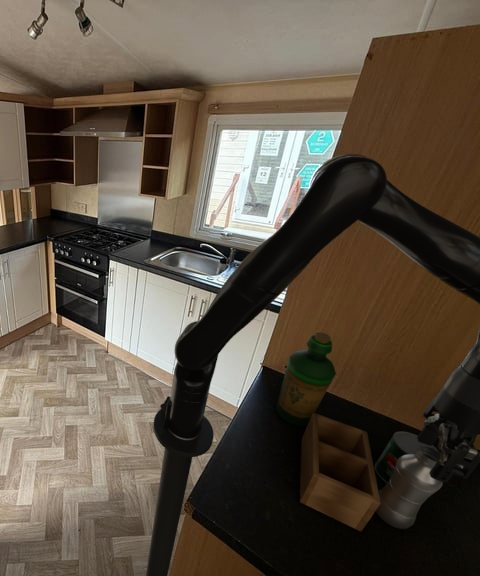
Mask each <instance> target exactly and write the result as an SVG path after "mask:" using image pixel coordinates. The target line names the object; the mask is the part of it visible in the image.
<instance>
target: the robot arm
mask: <svg viewBox="0 0 480 576" xmlns="http://www.w3.org/2000/svg"><path fill="white" fill-rule="evenodd" d="M308 185H309V186H308V189H307V191H306V192H305V194H304V195H303V198H302V199H301V200H300V202H299V203H298V204H297V206H296V207H295V208H294V209H293V211H292V212H291V214H290V215H289V216H288V218H287V219H286V220H285V221H284V223H282V225H281V226H280V227H279V228H278V229H277V230H276V231H275V232H274V233H273V234H271V236H269V237H268V238H266V239H265V240H264V241H262V243H260V244H259V245H258V246H257V247H255V248H254V249H253V250H252V251H251V252H250V253H249V254H248V255H247V256H246V257H245V258H244V259H243V260H242V261H241V262H240V263H239V264H238V265H237V267H236V268H235V269H234V270H233V272H231V274H230V275H229V276H228V278H227V279H226V281H225V282H224V283H223V285H222V286H221V287H220V289H219V290H218V292H217V293H216V295H215V297H214V298H213V300H212V302H211V303H210V305H209V306H208V308H207V310H206V311H205V313H204V314H203V315H202V317H201V318H200V319H199V320H196V321H192V322H189V323H188V324H187V325H186V326H185V327H184V328H183V330H182V332H181V333H180V334H179V336H178V338H177V339H176V342H175V344H174V350H173V351H174V358H175V359H176V364H175V366H174V369H173V376H172V383H171V389H170V396H169V395H167V397H166V399H165V400H164V402H163V403H161V404H160V409H161V414H162V415H165V423H164V428H166V429H168V431H169V433H170V434H171V435H172V436H173V437H175V438H177V439H179V440H181V441H193V440H195V439H197V438H198V437H199V435H200V432H201V426H202V421H203V418H205V417H206V416H205V412H206V407H207V402H208V397H209V393H210V389H211V384H212V380H213V377H214V374H215V370H216V367H217V362H218V357H219V354H220V353H221V352H222V350H223V349H224V348H225V347H226V345H227V344H228V343H229V342H230V341H231V340H232V338H234V337H235V336H236V335H237V334H238V333H239V332H241V331H242V330H243V329H244V328H245V327H247V326H248V325H249V324H251V322H252V321H254V320H255V319H256V317H258V316H259V315H260V314H261V313H262V312H263V311H265V310H266V308H267V307H269V306H270V305H271V304H272V303H274V301H275V300H276V299H277V298H278V297H279V296H280V295H281V294H283V292H284V291H285V290H286V289H287V288H288V287H289V286H290V284H292V283H293V281H294V280H295V279H296V278H297V277H298V276H299V275H300V274H301V273H302V272H303V271H304V270H305V269H306V268H307V266H308V265H309V264H310V263H311V262H312V261H313V259H314V258H315V257H316V256H317V255H318V254H319V253H320V252H321V251H322V250H323V249H325V248H326V247H327V246H328V245H329V244H330V243H332V241H334V240H335V239H336V238H337V237H339V236H340V235H341V234H342V233H344V232H345V231H346V230H347V229H349V228H350V227H351V226H352V225H353V224H355V223H356V222H359V223H360V224H363V225H365V226H366V227H368V228H369V229H371V230H373V231H374V232H375V233H377V234H378V235H380V236H381V237H383V238H384V239H385V240H387V241H388V242H389V243H391V244H392V245H393V246H395V247H396V248H397V249H398V250H399V251H400V252H402V253H403V254H404V255H405V256H406V257H408V258H409V259H410V260H412V261H413V262H414V263H415V264H416V265H418V266H419V267H421V268H422V269H423V270H424V271H426V272H428V273H429V274H431V275H432V276H433V277H435V278H436V279H437V280H439V281H441V282H442V283H444V284H446V285H447V286H449V287H450V288H452V289H453V290H455V291H456V292H458V293H459V294H462V295H464V296H465V297H467V298H469V299H471V300H472V301H474V302H475V303H477V304H478V305H480V236H478V235H476V234H475V233H473V232H472V231H469V230H467V229H466V228H465V227H462V226H460V225H458V224H457V223H455V222H452V221H451V220H449V219H447V218H445V217H443V216H442V215H440V214H438V213H436V212H434V211H433V210H430V209H429V208H428V207H425V206H424V205H422V204H420V203H419V202H418V201H415V200H414V199H412V198H411V197H410V196H408V195H407V194H405V193H404V192H403V191H401V190H400V189H399V188H397V187H396V186H395V185H394V184H393V183H391V181H389V179H388V177H387V172H386V170H385V168H384V167H383V165H381V164H380V163H379V162H378V161H376V160H374V159H372V158H370V157H368V156H366V155H362V154H358V153H345V154H341V155H337V156H333V157H331V158H330V159H327V160H326V161H324V162H322V163H321V164H320V165H319V166H318V167H317V168H316V169H315V171H314V172H313V174H312V175H311V178H310V180H309V184H308ZM433 412H435V413H433ZM422 417H423V418H425V420H424V421H423V426H424V427H423V428H422V429H421V431H420V432H419V434H418V435H417V436H418V437H417V439H418V441H419V442H420V443H423V444H426V445H429V446H432V445H433V446H434V444H435V443H436V441H437V440H438V443H437V450H438V451H440V453H441V454H440V459H439V461H438V462H437V463H436V464H435V465H434V467H433V468H432V469H431V471H430V472H429V474H430V476H431V478H433V479H436V480H438V481H441V482H443V483H448V482H450V481H449V480H451V478H452V477H453V476H454V475H456V476H458V477H461V478H463V479H466V480H467V479H468V478H469V477H470V476H471V475H472V473H473V472H474V470H475V469H476V468H477V467H478V466H479V464H480V449H479V448H476V447H475V445H474V444H475V442H476V439H477V436H478V435H479V436H480V327H479V328H478V332H477V337H476V341H475V343H474V345H473V346H472V347H471V349H470V350H469V351H468V352H467V354H466V355H465V357H464V359H463V360H462V361H461V363H460V364H459V365H458V366H457V368H455V369H454V370H453V372H452V373H451V374H450V376H449V377H448V379H447V380H446V382H445V383H444V385H443V386H442V388H441V389H440V391H439V392H438V393H437V394H436V395H435V396H434V397H433V398H432V400H431V401H430V403H429V404H428V406H427V407H426V408H425V410H424V411H423V412H422ZM447 445H448V446H452V447H454V449H451V448H449V447H448V446H447ZM449 455H450V457H449Z"/></svg>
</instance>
